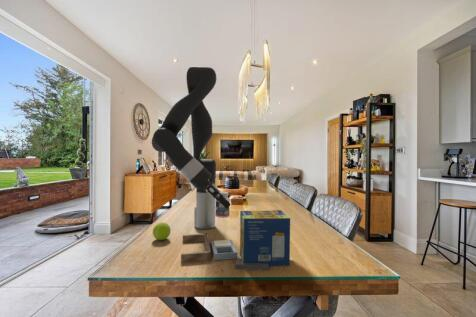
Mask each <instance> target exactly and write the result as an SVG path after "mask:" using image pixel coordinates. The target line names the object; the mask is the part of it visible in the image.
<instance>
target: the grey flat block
mask: <svg viewBox="0 0 476 317" xmlns="http://www.w3.org/2000/svg"><path fill="white" fill-rule="evenodd" d="M235 263H236V264H235V270H243V271H245V270H246V271H269V270H270V268H269V267H270V266H269V265H268V264H266V263H242V258H241V257H238V258H236V262H235Z"/></svg>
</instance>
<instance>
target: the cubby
mask: <svg viewBox="0 0 476 317" xmlns="http://www.w3.org/2000/svg"><path fill="white" fill-rule="evenodd" d="M190 242H191V243H194V242H195V243H196V242H203V243H204V250H205V251H204V250H203V251H193V252H192V251H191V252H181V253H180V263H192V262H193V263H194V262H204V261H205V262H206V261H207V262H208V261H212V249H211V244H210V242H209V237H208V233H192V234H191V233H190V234H182V243H190Z"/></svg>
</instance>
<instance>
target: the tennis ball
mask: <svg viewBox="0 0 476 317" xmlns="http://www.w3.org/2000/svg"><path fill="white" fill-rule="evenodd" d="M171 231H172V230H171V227H170V225H169V224H168V223H166V222H159V223H158V222H157V223H156V224H155V225H154V227H153V229H152V235H153V238H154V239H155V240H157V241H163V240H164V241H165V240H167V238H168V237H169V236H170V235H171ZM168 239H169V238H168Z"/></svg>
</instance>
